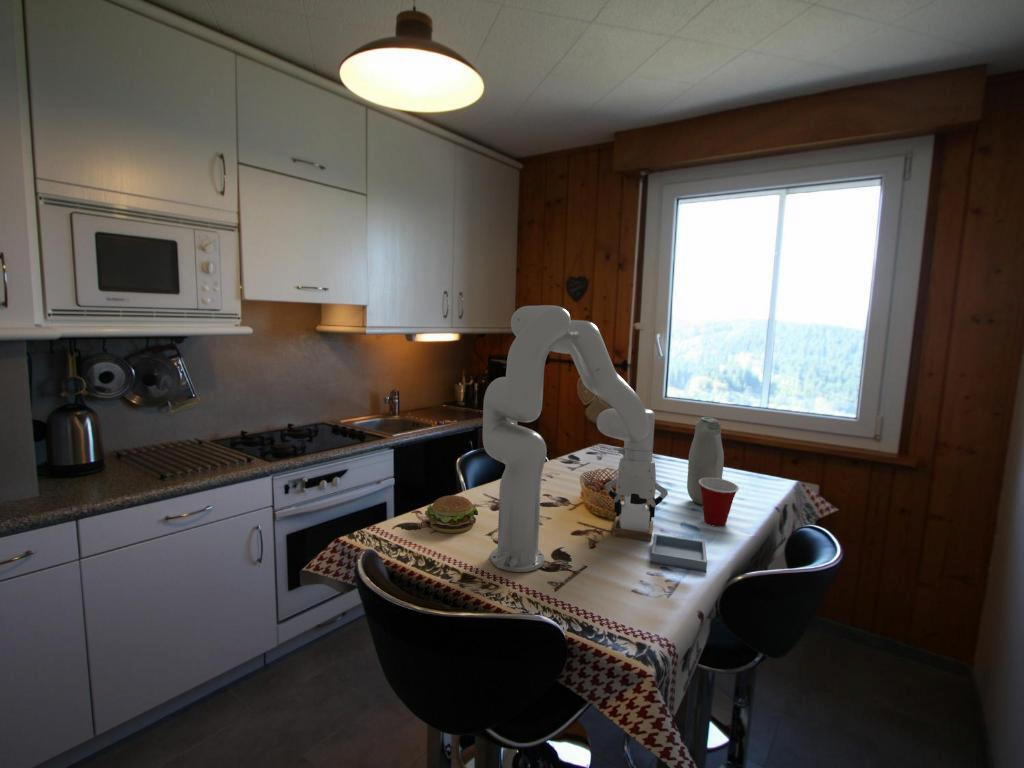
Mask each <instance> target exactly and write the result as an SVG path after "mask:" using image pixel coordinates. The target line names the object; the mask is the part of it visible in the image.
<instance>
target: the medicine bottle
mask: <svg viewBox="0 0 1024 768" xmlns="http://www.w3.org/2000/svg"><path fill="white" fill-rule="evenodd" d="M647 500H648V499H642V498H639V495H638V494H630V496H629V497H626V496H623V501H622V500H621V506H620V515H619V524H618V528H621V529H628V530H634V531H641V532H648V533H649V519H650V511H649V507H648V505H647V502H648V501H647Z"/></svg>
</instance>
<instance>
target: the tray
mask: <svg viewBox="0 0 1024 768" xmlns="http://www.w3.org/2000/svg"><path fill="white" fill-rule="evenodd" d="M651 546H652V547H651V554H650V564H653V565H660V566H664V567H671V568H678V569H683V570H689V571H695V572H700V573H701V572H702V573H707V569H708V568H707V566H708V560H707V559H708V557H707V547H706V541H704V540H699V539H698V540H697V539H692V538H691V539H690V538H685V537H679V536H678V537H676V536H671V535H664V534H659V533H658V534H657V533H654V534H653V541H652V545H651Z"/></svg>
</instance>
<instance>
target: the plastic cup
mask: <svg viewBox="0 0 1024 768" xmlns="http://www.w3.org/2000/svg"><path fill="white" fill-rule="evenodd" d="M699 484H700V486H701V493H702V504H703V505H702V513H703V520H704V523H705V522H706V523H705V524H707V525H709V524H710V525H709V526H712V525H714V526H713V527H724V526H726V523H727V521H728V518H729V515H730V512H731V508H732V505H733V500H734V498H735V496H736V494H737V492H738V491H739V489H740V488H739V486H738V485H737V484H736V483H734V482H733V481H729V480H727V479H723V478H722V479H719V478H701V479H700V480H699ZM723 525H724V526H723Z"/></svg>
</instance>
